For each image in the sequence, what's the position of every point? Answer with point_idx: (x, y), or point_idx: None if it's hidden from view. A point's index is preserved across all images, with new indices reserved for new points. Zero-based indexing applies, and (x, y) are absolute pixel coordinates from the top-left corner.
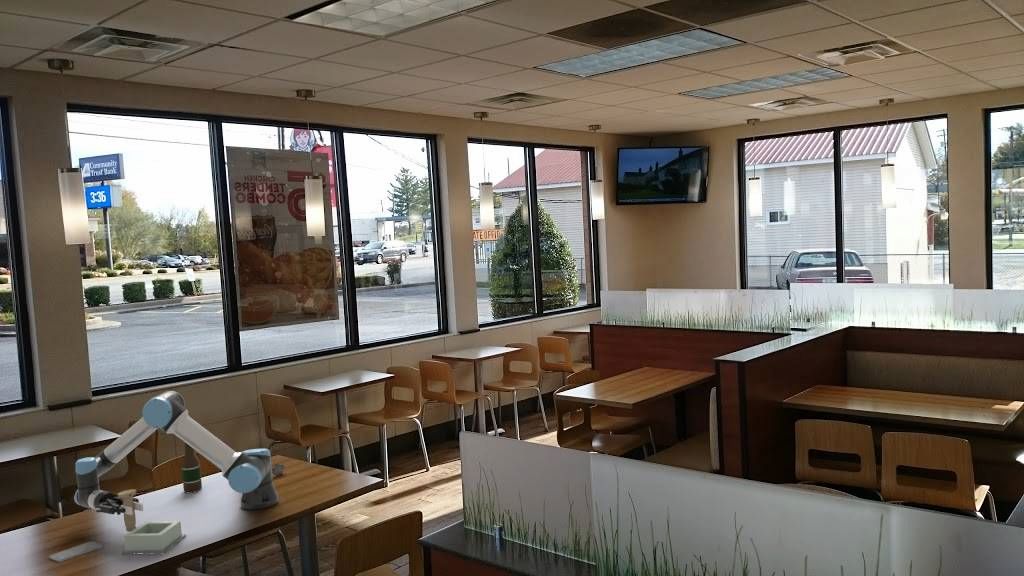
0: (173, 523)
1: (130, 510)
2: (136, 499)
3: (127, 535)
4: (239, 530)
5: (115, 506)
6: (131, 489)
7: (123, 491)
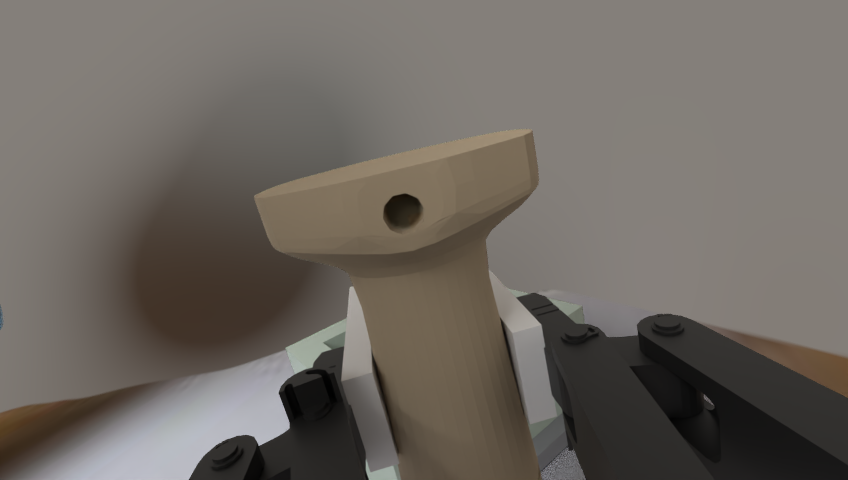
0: (326, 337)
1: None
2: (238, 445)
3: (562, 304)
4: (188, 376)
5: (619, 355)
6: (275, 193)
7: (410, 165)
